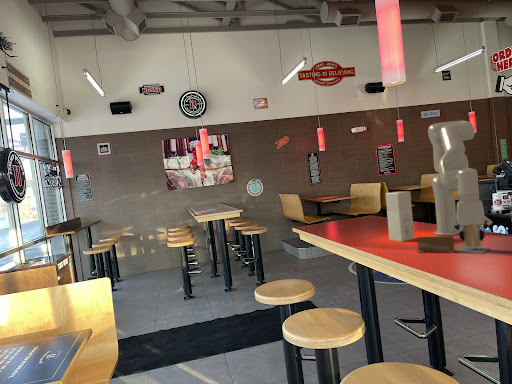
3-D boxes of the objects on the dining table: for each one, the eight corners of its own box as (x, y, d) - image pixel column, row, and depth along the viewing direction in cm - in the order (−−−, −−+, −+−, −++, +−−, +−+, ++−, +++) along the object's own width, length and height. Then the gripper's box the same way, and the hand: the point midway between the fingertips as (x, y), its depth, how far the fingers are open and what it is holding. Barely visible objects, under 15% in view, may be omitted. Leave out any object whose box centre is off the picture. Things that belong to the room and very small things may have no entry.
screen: (418, 250, 170) (417, 236, 169) (453, 250, 164) (452, 235, 164) (418, 252, 165) (417, 238, 165) (454, 252, 159) (453, 237, 159)
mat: (464, 247, 167) (464, 246, 167) (489, 248, 160) (489, 248, 160) (456, 251, 160) (456, 251, 160) (482, 253, 153) (482, 252, 153)
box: (463, 246, 162) (461, 220, 161) (470, 244, 163) (468, 219, 163) (474, 247, 157) (472, 221, 156) (481, 246, 159) (479, 220, 158)
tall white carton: (401, 237, 204) (397, 191, 203) (414, 239, 196) (410, 191, 195) (389, 239, 201) (385, 193, 200) (401, 241, 193) (397, 193, 192)
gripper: (446, 200, 160) (449, 242, 160) (494, 197, 152) (497, 241, 153) (445, 198, 166) (448, 239, 167) (491, 196, 159) (494, 238, 160)
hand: (472, 239), depth 160 cm, fingers closed on box, 6 cm apart
